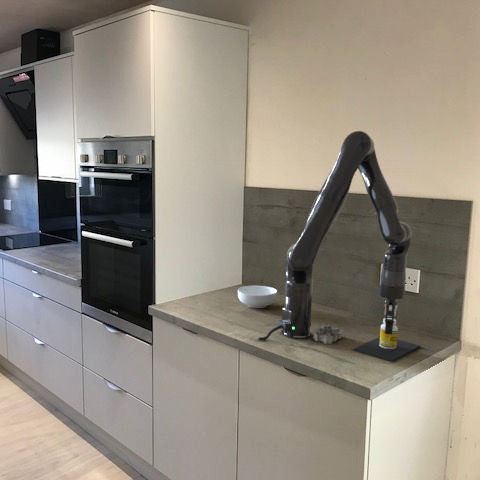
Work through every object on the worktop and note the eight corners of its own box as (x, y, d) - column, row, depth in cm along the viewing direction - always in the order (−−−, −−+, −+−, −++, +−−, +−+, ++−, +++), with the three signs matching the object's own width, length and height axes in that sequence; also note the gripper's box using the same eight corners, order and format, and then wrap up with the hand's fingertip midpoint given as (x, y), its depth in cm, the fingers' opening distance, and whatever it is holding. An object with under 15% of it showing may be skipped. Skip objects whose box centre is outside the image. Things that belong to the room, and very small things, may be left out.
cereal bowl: (248, 298, 238) (248, 283, 237) (282, 304, 228) (283, 288, 227) (230, 306, 224) (230, 290, 223) (266, 313, 215) (267, 297, 214)
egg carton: (328, 345, 180) (329, 333, 179) (309, 339, 185) (310, 328, 185) (344, 338, 187) (345, 327, 186) (325, 332, 192) (326, 322, 192)
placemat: (392, 361, 166) (392, 360, 166) (354, 350, 175) (354, 348, 175) (420, 347, 179) (420, 345, 178) (383, 337, 188) (383, 335, 188)
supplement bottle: (385, 343, 181) (387, 316, 179) (399, 347, 176) (402, 320, 175) (375, 345, 178) (378, 318, 176) (390, 350, 173) (392, 322, 172)
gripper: (381, 277, 181) (378, 322, 184) (379, 286, 169) (375, 335, 171) (405, 279, 178) (401, 325, 181) (405, 288, 165) (400, 338, 168)
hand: (388, 330), depth 176 cm, fingers open, 7 cm apart
